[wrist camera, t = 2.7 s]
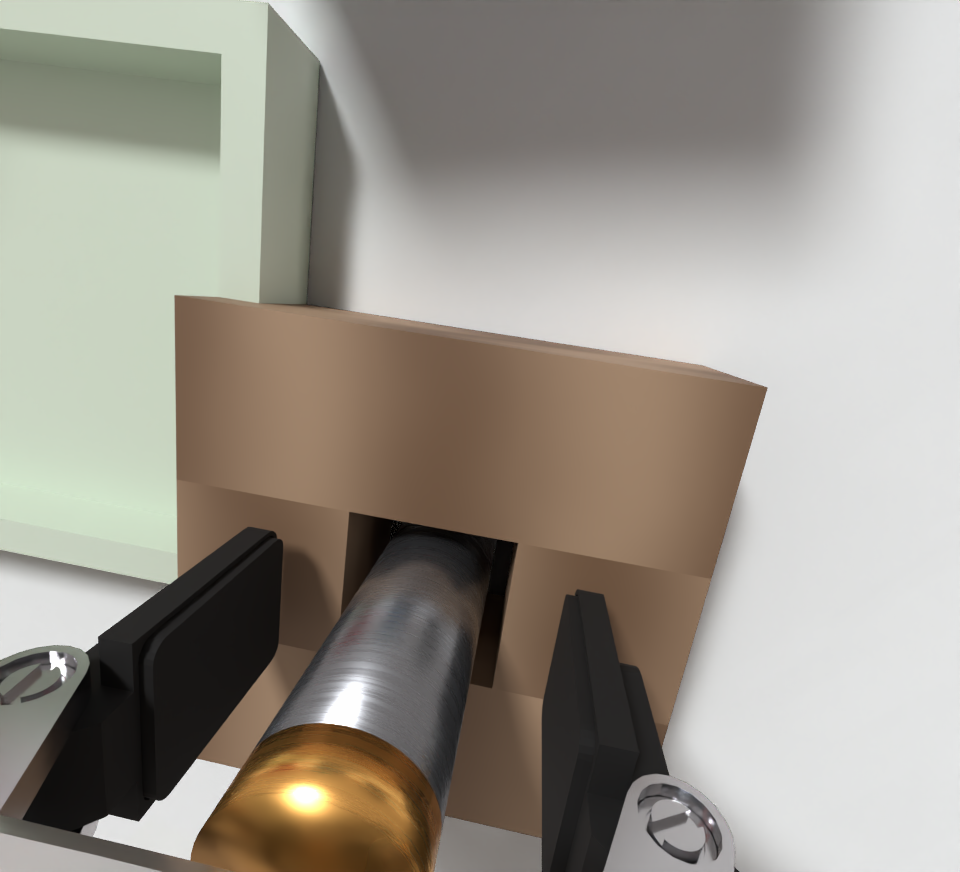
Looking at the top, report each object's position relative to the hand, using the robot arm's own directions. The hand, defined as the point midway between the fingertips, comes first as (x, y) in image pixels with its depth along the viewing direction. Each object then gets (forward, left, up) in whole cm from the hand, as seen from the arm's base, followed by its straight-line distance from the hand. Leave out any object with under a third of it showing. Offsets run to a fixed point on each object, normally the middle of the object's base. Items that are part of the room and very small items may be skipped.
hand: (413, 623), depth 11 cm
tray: (+13, -5, -5) cm, 15 cm away
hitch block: (0, 0, -5) cm, 5 cm away
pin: (0, 0, -5) cm, 5 cm away
